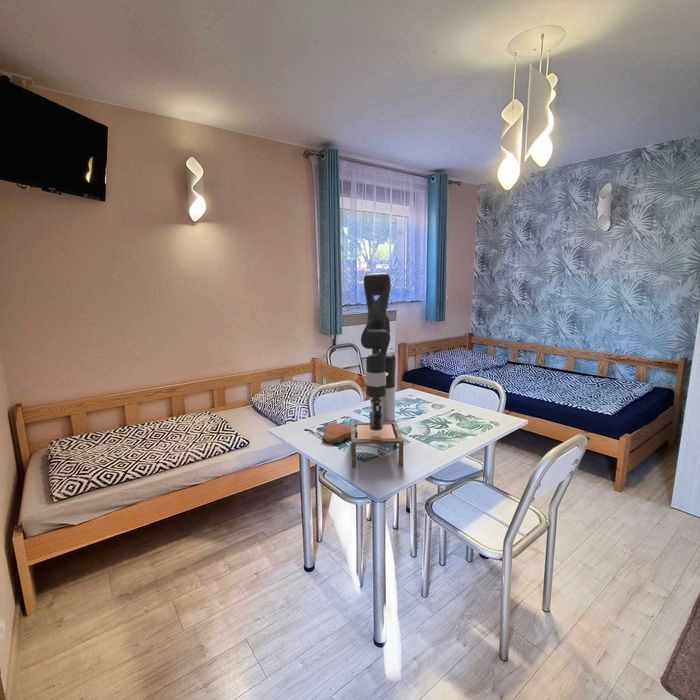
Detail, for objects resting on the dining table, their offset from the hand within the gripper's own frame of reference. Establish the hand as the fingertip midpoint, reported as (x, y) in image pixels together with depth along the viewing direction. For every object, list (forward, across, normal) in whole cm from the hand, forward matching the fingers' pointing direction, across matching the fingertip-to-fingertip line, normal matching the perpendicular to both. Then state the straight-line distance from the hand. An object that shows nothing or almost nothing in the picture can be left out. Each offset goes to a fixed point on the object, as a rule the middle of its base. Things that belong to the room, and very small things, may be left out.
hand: (376, 425), depth 146 cm
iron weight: (+1, 0, 0) cm, 1 cm away
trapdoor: (+5, -4, 0) cm, 6 cm away
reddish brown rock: (+14, -23, -16) cm, 32 cm away
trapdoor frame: (+14, -3, 0) cm, 14 cm away
